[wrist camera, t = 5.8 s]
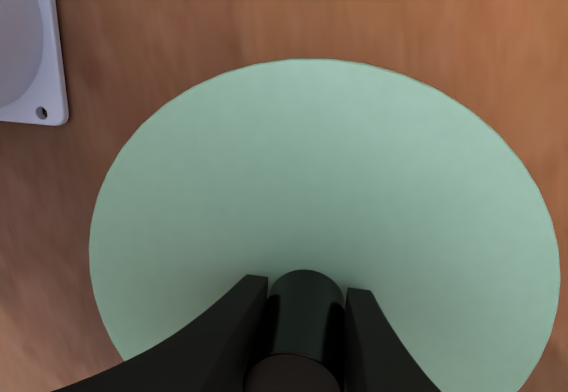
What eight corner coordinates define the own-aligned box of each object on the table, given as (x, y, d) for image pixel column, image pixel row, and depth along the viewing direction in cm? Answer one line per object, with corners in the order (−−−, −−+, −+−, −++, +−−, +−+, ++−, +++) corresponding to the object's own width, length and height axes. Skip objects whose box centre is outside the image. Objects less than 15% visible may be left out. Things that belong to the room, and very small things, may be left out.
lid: (123, 408, 16) (45, 536, 12) (87, 39, 11) (-63, 37, 7) (482, 469, 15) (536, 639, 11) (611, 76, 10) (802, 102, 6)
